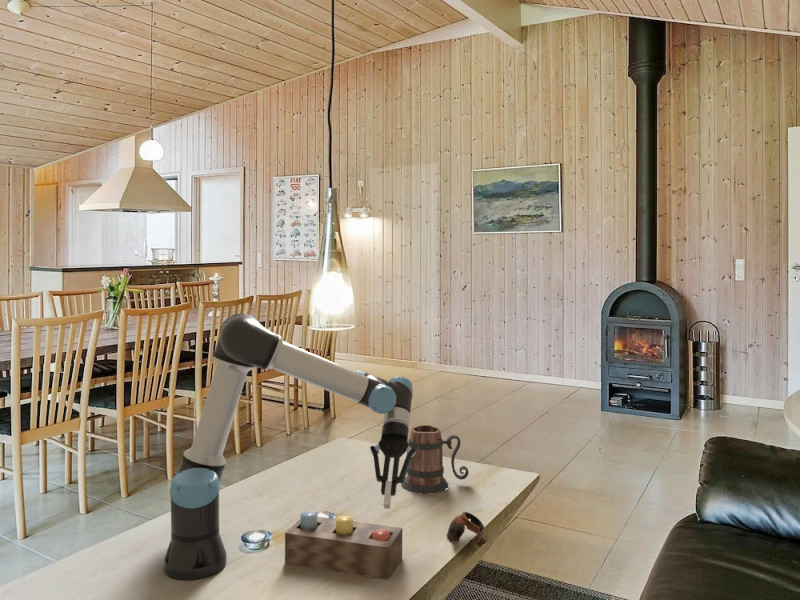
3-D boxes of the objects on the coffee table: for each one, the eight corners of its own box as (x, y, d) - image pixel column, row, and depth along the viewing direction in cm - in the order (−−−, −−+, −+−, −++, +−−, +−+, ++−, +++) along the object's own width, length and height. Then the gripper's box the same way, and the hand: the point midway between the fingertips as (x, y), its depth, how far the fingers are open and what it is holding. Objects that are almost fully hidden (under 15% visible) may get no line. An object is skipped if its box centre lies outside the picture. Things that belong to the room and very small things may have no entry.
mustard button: (333, 538, 162) (333, 521, 162) (339, 531, 166) (339, 514, 166) (349, 540, 161) (349, 523, 160) (355, 533, 165) (355, 516, 165)
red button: (369, 552, 159) (370, 535, 159) (375, 545, 164) (375, 528, 163) (386, 555, 158) (386, 537, 158) (391, 547, 162) (391, 530, 162)
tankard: (401, 493, 211) (402, 435, 210) (400, 476, 228) (401, 422, 226) (471, 494, 211) (472, 435, 210) (465, 477, 228) (466, 422, 227)
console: (284, 563, 162) (284, 532, 161) (304, 543, 173) (304, 514, 173) (388, 579, 154) (389, 547, 154) (402, 557, 166) (402, 527, 165)
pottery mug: (452, 530, 184) (467, 507, 183) (477, 552, 179) (492, 529, 178) (434, 534, 174) (450, 510, 173) (459, 558, 169) (476, 533, 168)
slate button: (297, 533, 165) (297, 516, 164) (304, 526, 169) (304, 510, 169) (313, 535, 163) (313, 518, 163) (320, 528, 168) (320, 512, 167)
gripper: (419, 434, 182) (412, 513, 166) (374, 432, 183) (363, 510, 168) (417, 421, 176) (410, 502, 161) (371, 419, 178) (360, 498, 162)
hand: (386, 506), depth 164 cm, fingers closed
